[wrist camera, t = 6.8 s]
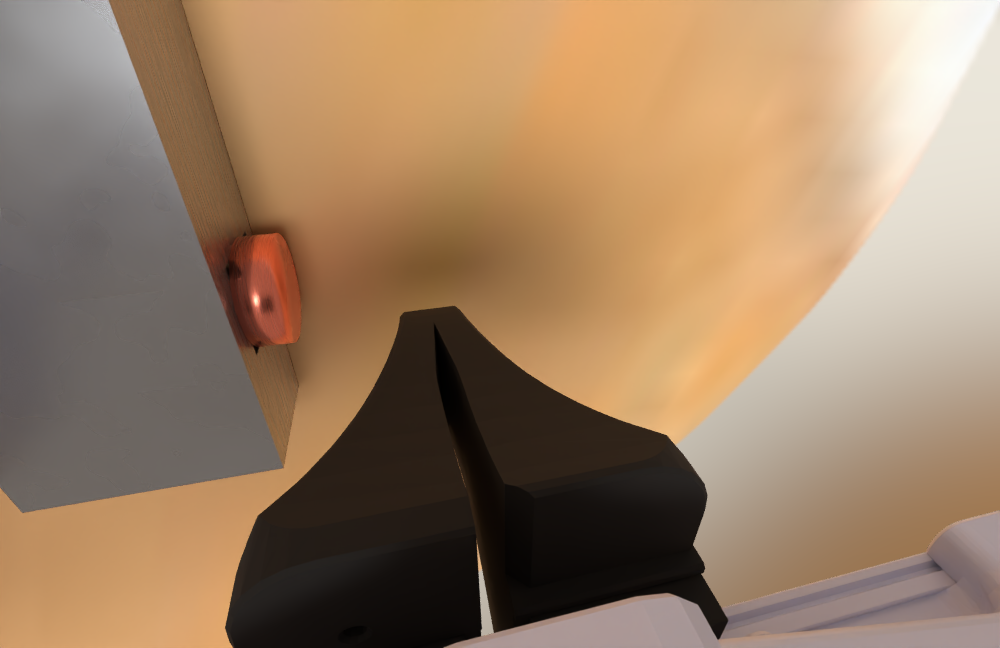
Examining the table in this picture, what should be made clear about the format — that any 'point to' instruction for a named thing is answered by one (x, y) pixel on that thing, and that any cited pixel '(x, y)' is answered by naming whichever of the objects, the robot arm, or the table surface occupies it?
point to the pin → (265, 289)
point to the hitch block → (121, 264)
